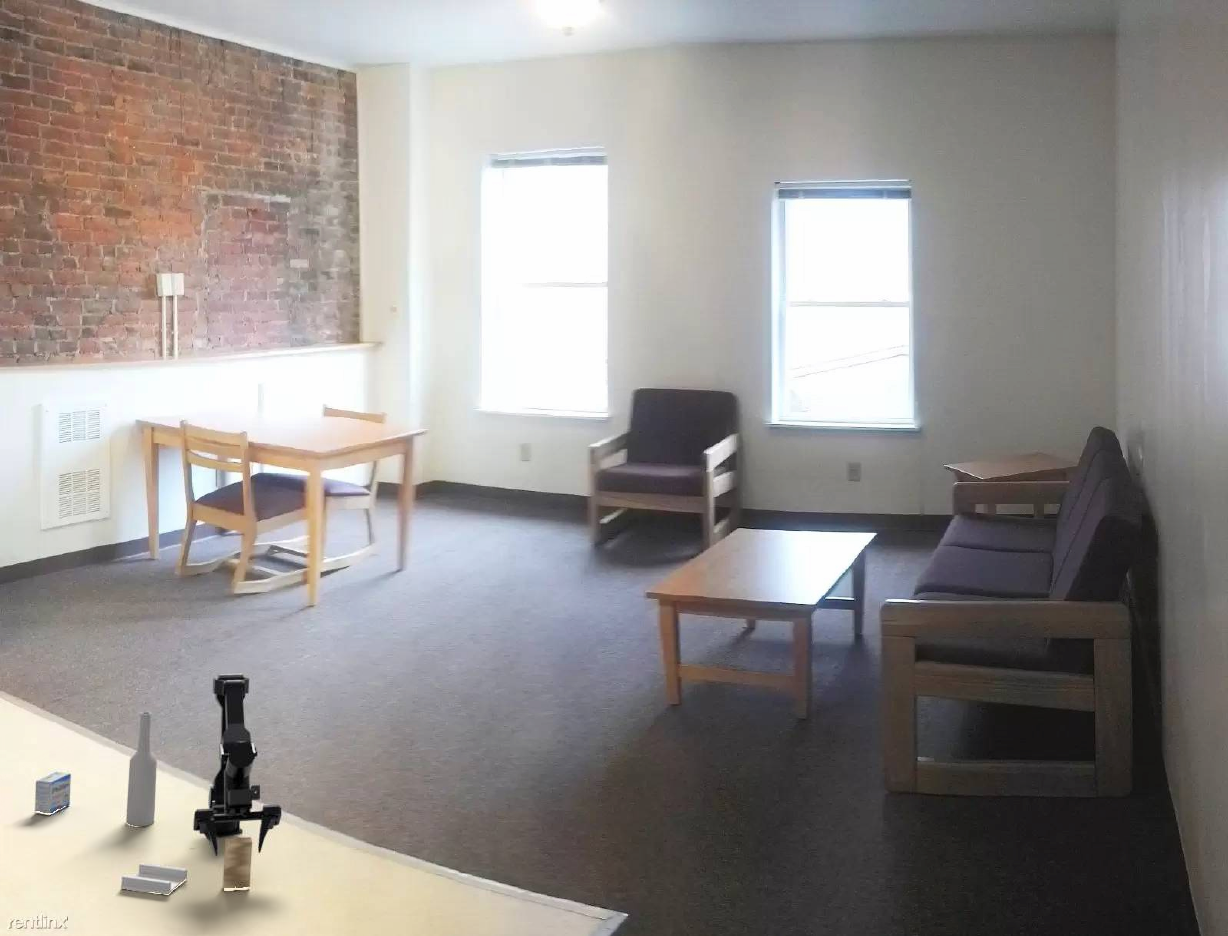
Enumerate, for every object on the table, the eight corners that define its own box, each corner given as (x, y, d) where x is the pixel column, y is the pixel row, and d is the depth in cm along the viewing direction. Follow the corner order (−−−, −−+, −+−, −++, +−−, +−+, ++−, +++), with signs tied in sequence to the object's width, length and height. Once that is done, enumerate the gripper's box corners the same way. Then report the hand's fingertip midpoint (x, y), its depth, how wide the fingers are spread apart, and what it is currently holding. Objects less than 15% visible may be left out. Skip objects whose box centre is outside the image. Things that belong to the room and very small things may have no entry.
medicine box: (49, 816, 297) (51, 782, 296) (33, 814, 298) (35, 780, 297) (70, 806, 305) (71, 773, 304) (54, 803, 305) (56, 771, 305)
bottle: (159, 819, 300) (164, 710, 299) (146, 828, 294) (151, 717, 292) (134, 816, 301) (139, 708, 299) (120, 825, 295) (126, 715, 293)
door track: (120, 889, 260) (121, 877, 259) (141, 874, 268) (142, 862, 268) (167, 896, 258) (168, 883, 258) (186, 880, 266) (187, 868, 266)
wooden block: (223, 892, 262) (226, 844, 261) (222, 886, 265) (225, 838, 264) (249, 890, 264) (252, 842, 263) (248, 884, 267) (251, 837, 266)
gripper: (196, 774, 264) (196, 841, 255) (282, 770, 271) (285, 835, 261) (193, 797, 272) (192, 862, 262) (277, 792, 279) (279, 856, 269)
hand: (238, 853), depth 264 cm, fingers open, 9 cm apart
